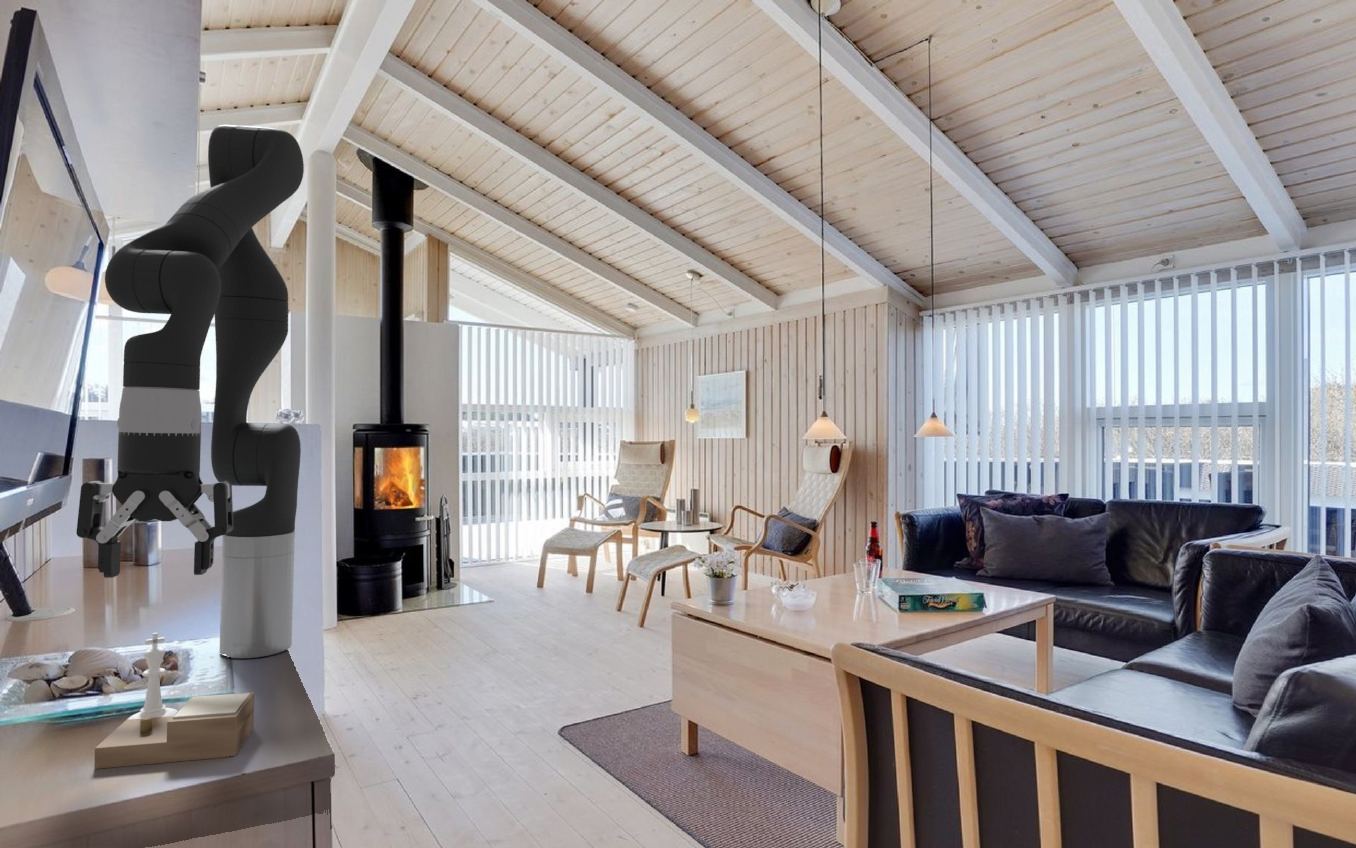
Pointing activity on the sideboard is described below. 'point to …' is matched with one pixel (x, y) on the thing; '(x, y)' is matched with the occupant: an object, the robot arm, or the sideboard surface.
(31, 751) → the sideboard surface
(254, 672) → the sideboard surface
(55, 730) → the sideboard surface
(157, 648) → the chess piece
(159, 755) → the stepped wooden block
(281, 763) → the sideboard surface
